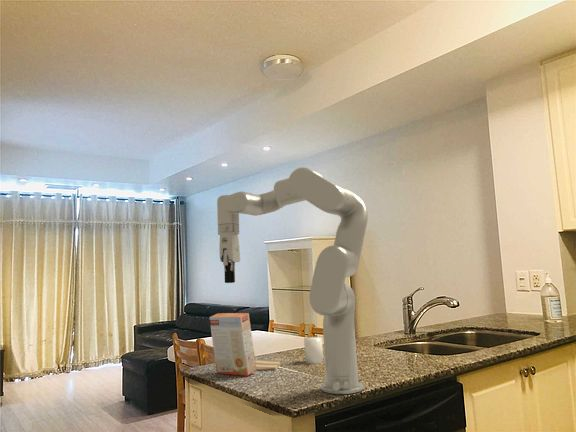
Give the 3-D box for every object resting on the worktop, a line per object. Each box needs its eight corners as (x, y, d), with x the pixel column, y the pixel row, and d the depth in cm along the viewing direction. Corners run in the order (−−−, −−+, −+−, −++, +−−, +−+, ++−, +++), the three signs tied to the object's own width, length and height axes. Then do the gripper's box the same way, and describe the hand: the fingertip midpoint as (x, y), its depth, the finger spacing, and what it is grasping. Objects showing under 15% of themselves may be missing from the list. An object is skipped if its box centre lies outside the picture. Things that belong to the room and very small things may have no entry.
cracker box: (257, 370, 155) (249, 312, 155) (247, 377, 150) (239, 316, 149) (226, 367, 162) (219, 312, 162) (216, 374, 157) (208, 316, 156)
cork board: (275, 370, 158) (275, 368, 158) (227, 371, 160) (227, 369, 160) (282, 361, 173) (282, 359, 173) (238, 362, 176) (238, 360, 176)
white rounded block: (322, 363, 166) (321, 339, 167) (304, 364, 167) (303, 339, 168) (323, 359, 172) (322, 336, 174) (306, 360, 173) (305, 337, 175)
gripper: (233, 227, 145) (234, 283, 143) (244, 231, 160) (245, 281, 158) (211, 228, 146) (212, 284, 144) (224, 232, 161) (225, 282, 159)
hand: (229, 282), depth 151 cm, fingers closed
